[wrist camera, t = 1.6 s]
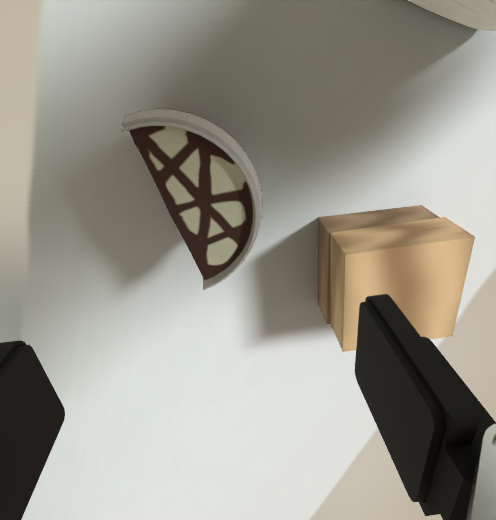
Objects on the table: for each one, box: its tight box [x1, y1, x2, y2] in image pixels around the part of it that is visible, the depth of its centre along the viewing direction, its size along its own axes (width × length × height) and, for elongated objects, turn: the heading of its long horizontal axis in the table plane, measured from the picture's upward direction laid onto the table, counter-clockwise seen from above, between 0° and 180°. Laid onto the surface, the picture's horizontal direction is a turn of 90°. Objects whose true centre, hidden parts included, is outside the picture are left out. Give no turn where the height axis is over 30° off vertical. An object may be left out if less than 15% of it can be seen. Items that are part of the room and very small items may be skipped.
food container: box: [122, 109, 263, 290], centre depth 26 cm, size 12×6×10 cm, turn 20°
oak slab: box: [330, 217, 475, 352], centre depth 31 cm, size 10×10×4 cm
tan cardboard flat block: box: [318, 205, 440, 324], centre depth 34 cm, size 10×10×4 cm
